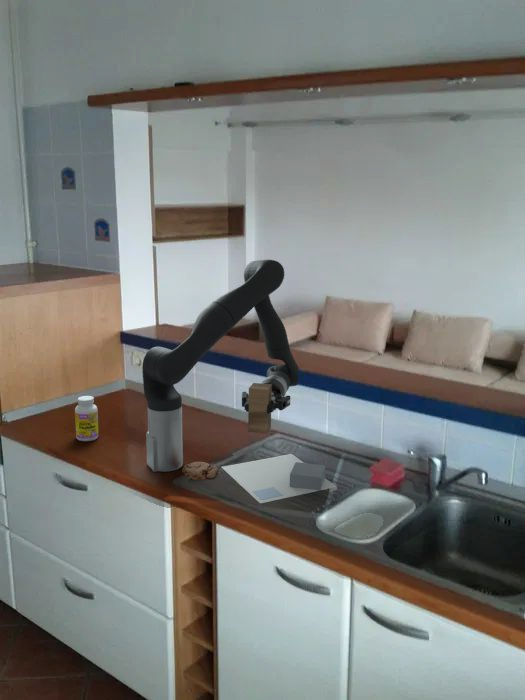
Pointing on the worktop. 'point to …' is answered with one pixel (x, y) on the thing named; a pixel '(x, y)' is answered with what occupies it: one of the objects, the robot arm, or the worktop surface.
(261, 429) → the walnut pillar
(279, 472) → the base board
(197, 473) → the cookie
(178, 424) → the robot arm
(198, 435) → the worktop surface
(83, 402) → the supplement bottle
